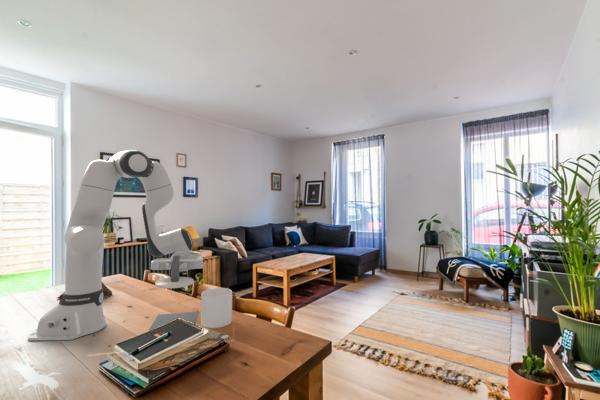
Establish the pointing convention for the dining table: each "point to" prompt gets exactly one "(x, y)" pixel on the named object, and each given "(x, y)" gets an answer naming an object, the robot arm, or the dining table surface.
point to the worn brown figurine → (106, 291)
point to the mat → (173, 318)
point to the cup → (216, 307)
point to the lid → (174, 277)
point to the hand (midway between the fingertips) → (174, 267)
